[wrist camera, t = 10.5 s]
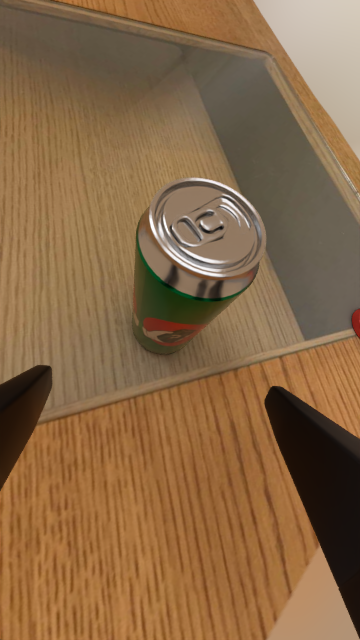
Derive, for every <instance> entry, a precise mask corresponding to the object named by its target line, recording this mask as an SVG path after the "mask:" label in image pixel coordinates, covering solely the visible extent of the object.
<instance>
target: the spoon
mask: <svg viewBox="0 0 360 640" xmlns="http://www.w3.org/2000/svg"><path fill="white" fill-rule="evenodd" d="M352 325H353V328H354V330H355V332H356V334H357V335H358V337H359V338H360V309H358V310H356V311H355V312H354V313H353V316H352Z"/></svg>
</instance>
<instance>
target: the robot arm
mask: <svg viewBox="0 0 360 640" xmlns="http://www.w3.org/2000/svg"><path fill="white" fill-rule="evenodd" d="M51 388H52V369H51V367H50V366H47V365H37V366H35V367H33V368H31V369H29V370H27V371H25V372H24V373H22V374H20V375H18V376H16V377H14V378H12V379H10V380H8V381H6V382H5V383H3V384H1V385H0V490H1V489H2V487H3V485H4V483H5V481H6V480H7V478H8V476H9V474H10V472H11V471H12V469H13V467H14V465H15V463H16V462H17V460H18V458H19V456H20V454H21V453H22V451H23V449H24V447H25V445H26V444H27V442H28V440H29V438H30V436H31V435H32V433H33V431H34V429H35V426H36V424H37V422H38V419H39V417H40V415H41V412H42V410H43V408H44V405H45V403H46V400H47V398H48V396H49V393H50V391H51ZM264 403H265V408H266V411H267V414H268V417H269V420H270V423H271V426H272V430H273V433H274V436H275V439H276V441H277V444H278V446H279V449H280V451H281V453H282V456H283V458H284V460H285V463H286V465H287V467H288V470H289V472H290V475H291V477H292V479H293V482H294V484H295V486H296V489H297V491H298V494H299V496H300V498H301V501H302V503H303V505H304V508H305V510H306V513H307V515H308V517H309V520H310V522H311V524H312V527H313V529H314V531H315V534H316V536H317V539H318V541H319V543H320V546H321V548H322V550H323V553H324V555H325V558H326V560H327V562H328V565H329V567H330V569H331V572H332V574H333V576H334V579H335V581H336V583H337V586H338V587H339V591H340V593H341V596H342V598H343V601H344V603H345V605H346V608H347V610H348V612H349V615H350V617H351V620H352V622H353V624H354V627H355V629H356V631H357V634H358V636H359V638H360V439H359V438H357V437H356V436H354V435H353V434H351V433H350V432H348V431H347V430H345V429H344V428H342V427H341V426H339V425H338V424H336V423H335V422H333V421H332V420H330V419H329V418H327V417H326V416H324V415H323V414H321V413H320V412H318V411H317V410H315V409H314V408H312V407H311V406H309V405H308V404H306V403H305V402H304V401H302V400H301V399H299V398H298V397H296V396H295V395H293V394H292V393H290V392H289V391H287V390H286V389H284V388H283V387H280V386H272V387H271V388H270V390H269V392H268V394H267V396H266V398H265V402H264Z"/></svg>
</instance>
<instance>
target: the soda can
mask: <svg viewBox="0 0 360 640" xmlns="http://www.w3.org/2000/svg"><path fill="white" fill-rule="evenodd" d="M265 246H266V232H265V228H264V225H263V222H262V220H261V218H260V216H259V214H258V212H257V211H256V210H255V208H254V207H253V206H252V204H251V203H250V202H249V201H248V200H247V199H246V198H245V197H243V196H242V195H241V194H240V193H238V192H237V191H235V190H234V189H232V188H230V187H229V186H227V185H225V184H222V183H220V182H218V181H214V180H211V179H206V178H200V177H186V178H180V179H176V180H174V181H171V182H169V183H167V184H166V185H164V186H163V187H162V188H160V189H159V190H158V191H157V193H156V194H155V196H154V197H153V199H152V201H151V204H150V206H149V207H148V208H147V209H146V210H145V212H144V213H143V215H142V216H141V218H140V220H139V222H138V226H137V230H136V247H135V270H134V292H133V315H132V329H133V333H134V336H135V337H136V339H137V341H138V342H139V343H140V344H141V345H142V346H143V347H144V348H145V349H147V350H149V351H151V352H153V353H156V354H171V353H174V352H176V351H178V350H180V349H181V348H183V347H184V346H185V345H186V344H187V343H188V342H189V341H190V340H191V339H193V338H194V337H195V336H196V335H197V334H198V333H199V332H200V331H201V330H202V329H203V328H205V327H206V326H207V325H208V324H209V323H210V322H211V321H212V320H213V319H214V318H216V317H217V316H218V315H219V314H220V313H221V312H222V311H223V310H224V309H225V308H226V307H228V306H229V305H230V304H231V303H232V302H233V301H234V300H235V299H236V298H237V297H238V296H240V295H241V294H242V293H243V292H244V291H245V290H246V289H247V288H248V287H249V286H250V285H251V284H252V282H253V280H254V279H255V277H256V274H257V271H258V268H259V261H260V259H261V258H262V256H263V253H264V250H265Z"/></svg>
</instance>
